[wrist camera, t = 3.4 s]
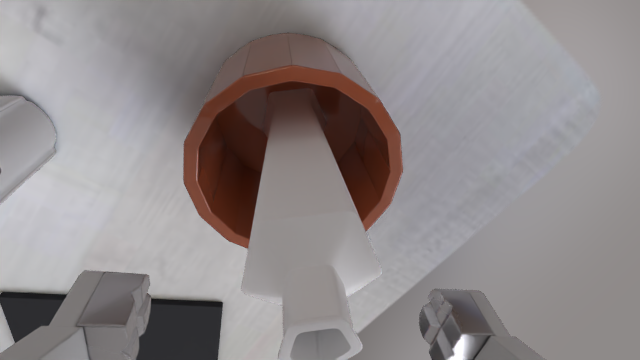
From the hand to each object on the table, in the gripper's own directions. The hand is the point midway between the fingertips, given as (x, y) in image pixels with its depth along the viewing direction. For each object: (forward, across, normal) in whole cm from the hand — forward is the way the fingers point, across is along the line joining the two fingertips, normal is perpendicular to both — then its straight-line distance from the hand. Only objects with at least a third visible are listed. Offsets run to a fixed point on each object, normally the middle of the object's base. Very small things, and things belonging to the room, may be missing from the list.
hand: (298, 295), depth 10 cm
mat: (+14, +11, +23) cm, 29 cm away
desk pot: (+14, 0, 0) cm, 14 cm away
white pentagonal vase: (+14, 0, 0) cm, 14 cm away
